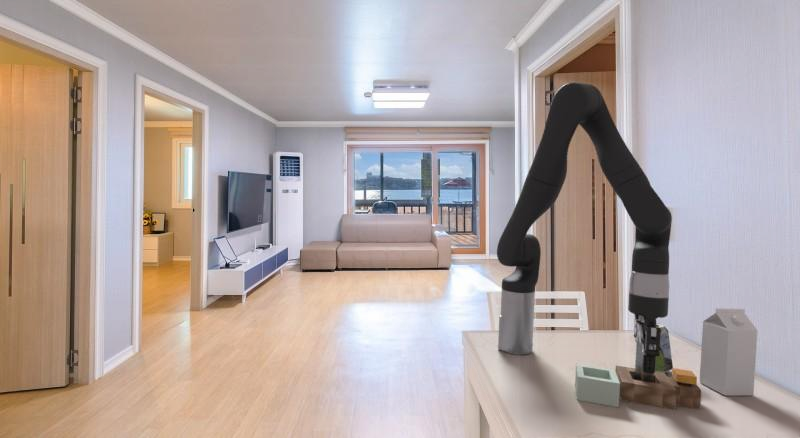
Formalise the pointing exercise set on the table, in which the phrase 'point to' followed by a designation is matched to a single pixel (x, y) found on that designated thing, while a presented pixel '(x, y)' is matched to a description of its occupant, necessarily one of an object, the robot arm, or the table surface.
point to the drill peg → (641, 363)
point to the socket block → (657, 390)
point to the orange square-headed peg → (684, 377)
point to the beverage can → (664, 352)
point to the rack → (597, 385)
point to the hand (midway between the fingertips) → (644, 366)
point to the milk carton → (728, 352)
